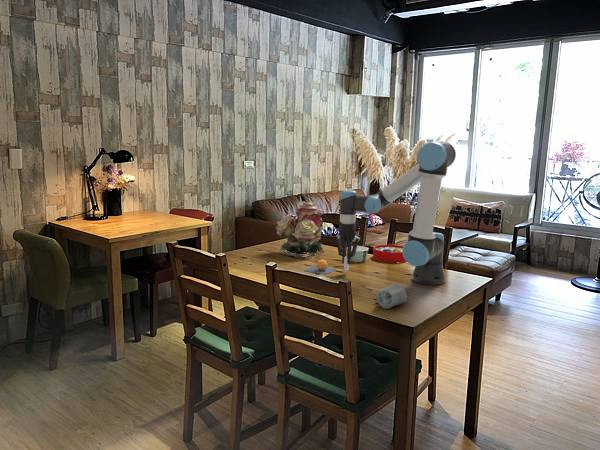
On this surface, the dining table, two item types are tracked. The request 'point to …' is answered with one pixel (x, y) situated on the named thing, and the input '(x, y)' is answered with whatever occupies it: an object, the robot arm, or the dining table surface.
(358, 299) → the dining table surface
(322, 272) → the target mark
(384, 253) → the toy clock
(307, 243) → the rose bouquet
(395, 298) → the spool
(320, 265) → the ball
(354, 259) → the food container
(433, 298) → the dining table surface
